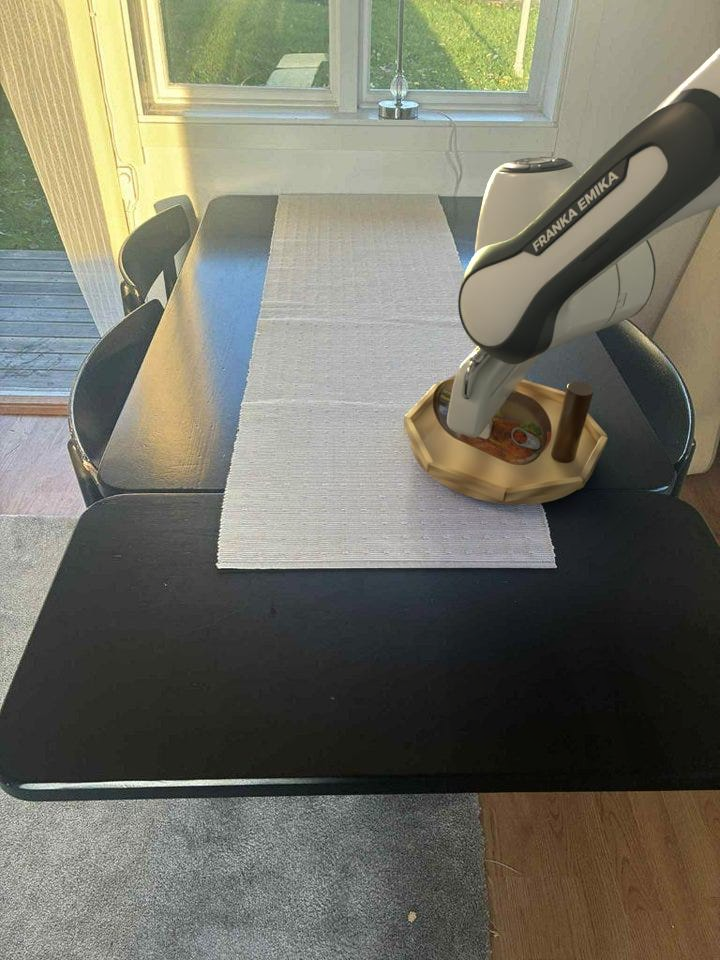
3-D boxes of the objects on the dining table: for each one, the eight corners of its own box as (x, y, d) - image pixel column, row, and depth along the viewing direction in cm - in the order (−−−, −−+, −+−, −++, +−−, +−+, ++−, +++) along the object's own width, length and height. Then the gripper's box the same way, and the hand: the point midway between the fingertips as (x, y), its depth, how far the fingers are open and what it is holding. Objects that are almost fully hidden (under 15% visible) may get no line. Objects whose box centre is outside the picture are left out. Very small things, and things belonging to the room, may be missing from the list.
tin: (429, 426, 88) (432, 370, 82) (443, 414, 90) (448, 359, 84) (535, 477, 81) (547, 420, 75) (549, 463, 82) (561, 406, 77)
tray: (618, 425, 95) (640, 352, 87) (561, 532, 79) (583, 454, 72) (456, 374, 104) (464, 305, 96) (376, 461, 88) (379, 386, 81)
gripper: (498, 372, 66) (480, 483, 75) (567, 290, 79) (544, 393, 88) (438, 354, 68) (427, 463, 77) (514, 278, 82) (497, 378, 91)
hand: (490, 425), depth 83 cm, fingers closed on tin, 3 cm apart
